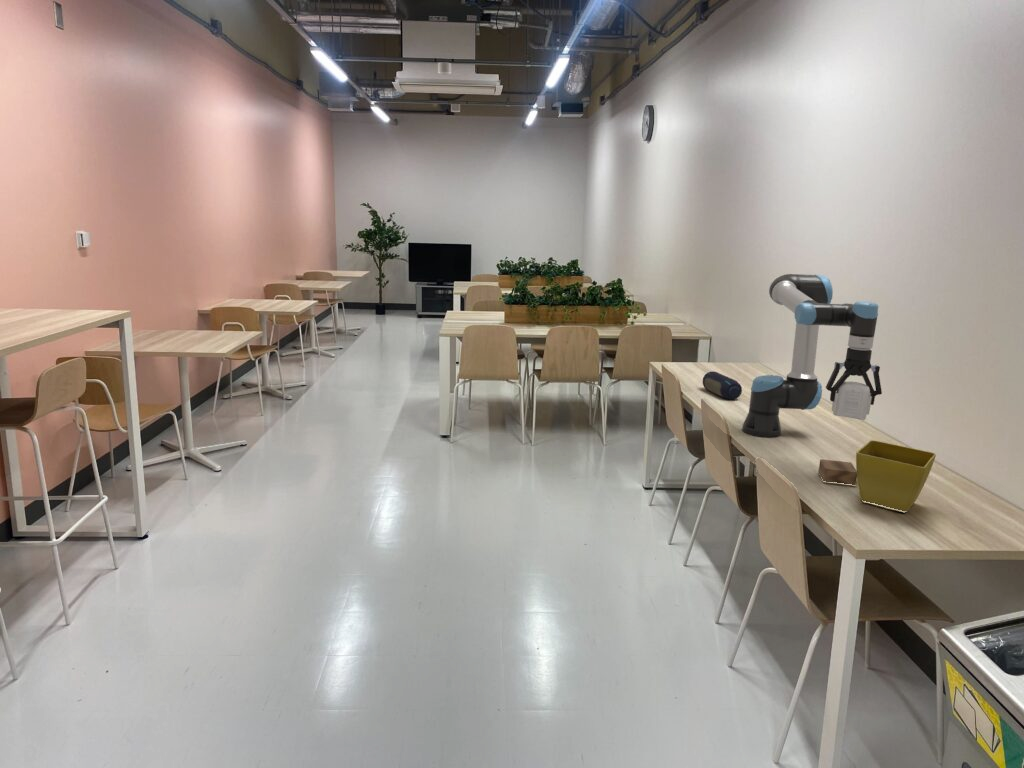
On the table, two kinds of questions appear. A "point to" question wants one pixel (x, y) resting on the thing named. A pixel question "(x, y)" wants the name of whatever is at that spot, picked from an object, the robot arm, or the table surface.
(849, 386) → the photo printer
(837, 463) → the walnut block
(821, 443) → the table surface
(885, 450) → the flower pot
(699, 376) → the table surface
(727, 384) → the portable speaker
